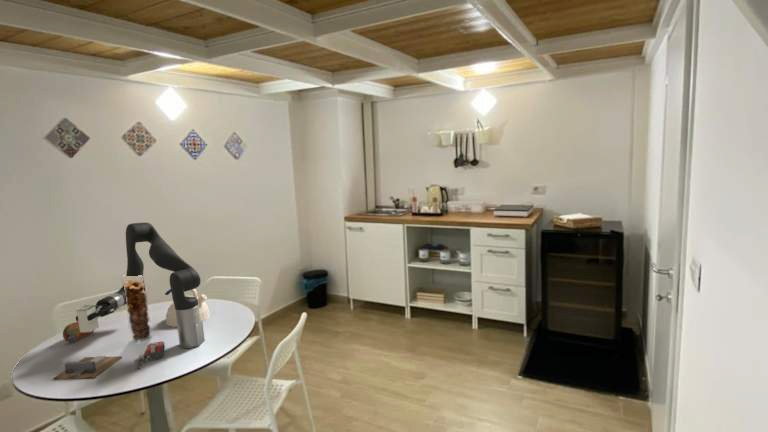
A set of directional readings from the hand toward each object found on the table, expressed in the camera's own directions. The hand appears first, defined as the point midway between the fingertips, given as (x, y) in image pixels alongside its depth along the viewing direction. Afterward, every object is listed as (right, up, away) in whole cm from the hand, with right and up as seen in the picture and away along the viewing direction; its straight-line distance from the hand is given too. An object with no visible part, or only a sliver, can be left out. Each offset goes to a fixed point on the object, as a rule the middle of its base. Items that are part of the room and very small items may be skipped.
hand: (82, 318), depth 176 cm
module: (0, -6, +4) cm, 7 cm away
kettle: (+26, -10, +39) cm, 48 cm away
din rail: (+8, -18, -8) cm, 21 cm away
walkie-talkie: (+30, -16, -2) cm, 34 cm away
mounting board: (+8, -18, -8) cm, 21 cm away
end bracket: (+8, -18, -12) cm, 23 cm away
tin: (-16, -14, +22) cm, 31 cm away
